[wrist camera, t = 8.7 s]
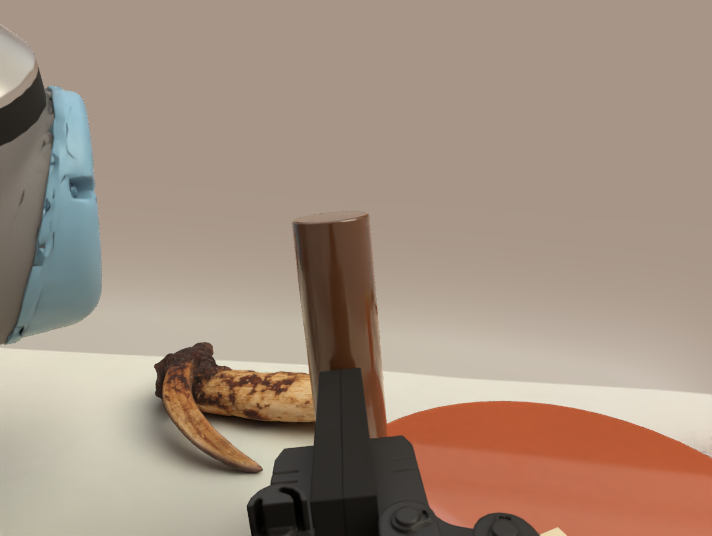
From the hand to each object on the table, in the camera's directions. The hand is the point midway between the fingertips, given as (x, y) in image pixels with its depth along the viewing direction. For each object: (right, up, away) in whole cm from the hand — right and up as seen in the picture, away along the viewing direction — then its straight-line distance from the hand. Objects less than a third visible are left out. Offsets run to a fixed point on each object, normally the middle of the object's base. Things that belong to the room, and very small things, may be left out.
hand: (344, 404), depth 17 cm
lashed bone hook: (-8, -7, +17) cm, 20 cm away
